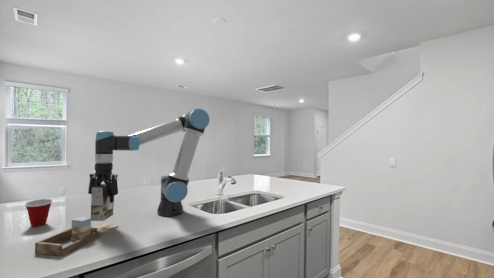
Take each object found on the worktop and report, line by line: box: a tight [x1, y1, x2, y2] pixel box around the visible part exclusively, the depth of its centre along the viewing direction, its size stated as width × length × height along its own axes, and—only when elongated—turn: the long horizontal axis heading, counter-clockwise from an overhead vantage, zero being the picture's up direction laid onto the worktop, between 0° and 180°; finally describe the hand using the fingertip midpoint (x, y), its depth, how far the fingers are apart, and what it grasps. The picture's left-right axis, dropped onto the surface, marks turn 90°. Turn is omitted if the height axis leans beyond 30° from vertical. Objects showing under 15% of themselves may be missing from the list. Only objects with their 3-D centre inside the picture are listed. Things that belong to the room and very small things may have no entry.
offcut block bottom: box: [70, 231, 91, 242], centre depth 103 cm, size 6×4×3 cm, turn 79°
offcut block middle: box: [71, 224, 92, 235], centre depth 103 cm, size 6×4×3 cm, turn 78°
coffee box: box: [90, 183, 115, 222], centre depth 114 cm, size 9×6×16 cm
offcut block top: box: [71, 216, 92, 228], centre depth 103 cm, size 6×4×3 cm, turn 78°
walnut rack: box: [34, 226, 100, 257], centre depth 97 cm, size 12×18×4 cm, turn 171°
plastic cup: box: [24, 198, 54, 228], centre depth 118 cm, size 11×11×12 cm
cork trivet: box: [93, 223, 119, 234], centre depth 114 cm, size 10×9×1 cm
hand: (102, 208), depth 114 cm, fingers closed on coffee box, 7 cm apart
